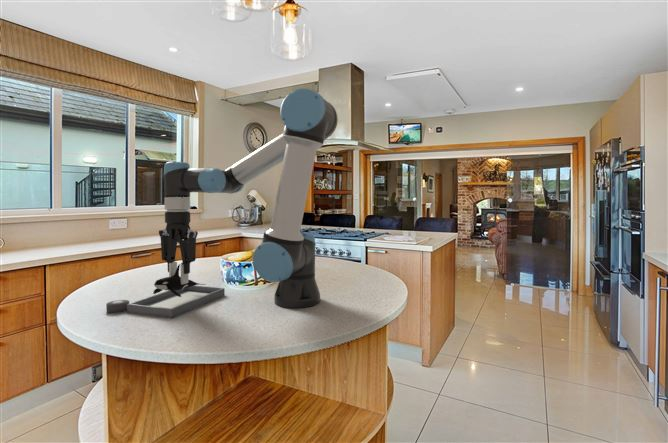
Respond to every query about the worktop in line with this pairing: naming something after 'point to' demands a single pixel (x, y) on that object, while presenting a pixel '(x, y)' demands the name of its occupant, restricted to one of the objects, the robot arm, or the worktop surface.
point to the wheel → (117, 306)
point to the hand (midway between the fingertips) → (179, 282)
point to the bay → (175, 301)
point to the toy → (173, 283)
